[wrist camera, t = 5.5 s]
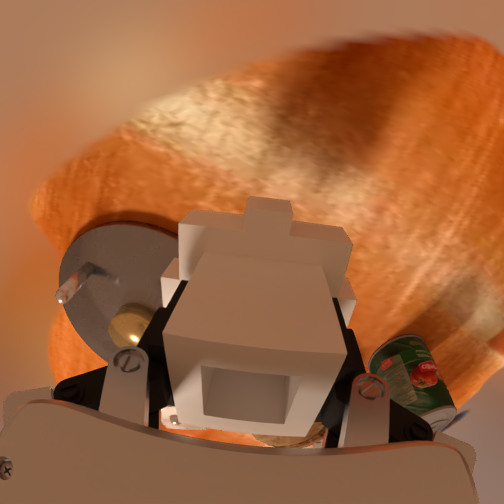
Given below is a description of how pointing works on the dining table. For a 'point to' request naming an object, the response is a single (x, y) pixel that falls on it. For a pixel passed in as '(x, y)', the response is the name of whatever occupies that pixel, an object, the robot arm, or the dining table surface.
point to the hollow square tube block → (256, 318)
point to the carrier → (117, 287)
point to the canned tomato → (414, 379)
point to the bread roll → (295, 438)
